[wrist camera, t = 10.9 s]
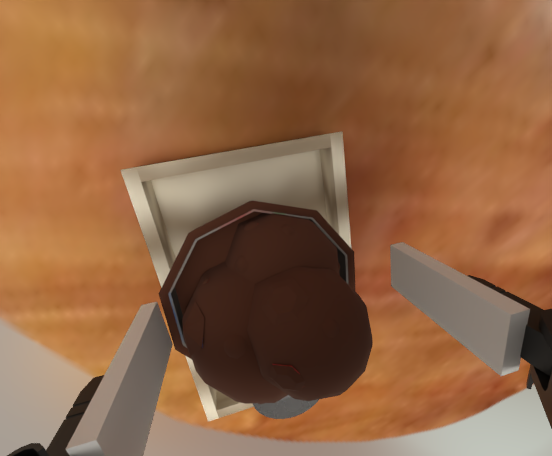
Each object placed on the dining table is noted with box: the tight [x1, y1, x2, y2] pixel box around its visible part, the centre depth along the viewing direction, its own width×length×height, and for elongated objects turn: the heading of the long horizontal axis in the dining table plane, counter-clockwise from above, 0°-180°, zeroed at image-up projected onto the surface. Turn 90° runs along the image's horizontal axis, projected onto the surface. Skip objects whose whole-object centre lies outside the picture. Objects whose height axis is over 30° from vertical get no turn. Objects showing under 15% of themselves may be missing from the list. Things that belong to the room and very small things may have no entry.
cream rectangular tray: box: [121, 132, 351, 421], centre depth 24 cm, size 24×16×4 cm, turn 9°
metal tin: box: [253, 395, 319, 419], centre depth 24 cm, size 6×6×6 cm
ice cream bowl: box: [159, 200, 372, 404], centre depth 16 cm, size 11×11×15 cm
